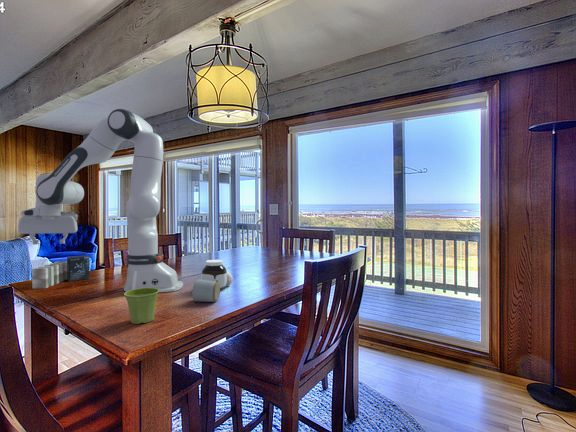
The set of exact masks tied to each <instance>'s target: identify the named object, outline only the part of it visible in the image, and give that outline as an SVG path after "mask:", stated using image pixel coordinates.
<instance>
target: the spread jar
mask: <svg viewBox="0 0 576 432" xmlns="http://www.w3.org/2000/svg"><path fill="white" fill-rule="evenodd" d="M200 278H201V279H200V280H207V281H215V282H218V283H219V284H220V291H222V290H223V289H225V288H226V287H229V286H230V285H232V283H233V282H234V277H233V275H232V273H231V272H229V271H228V270H227V268H226V267H225V266H224V260H221V259H208V260H206V261H205V265H204V268H202V271H201V277H200Z"/></svg>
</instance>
